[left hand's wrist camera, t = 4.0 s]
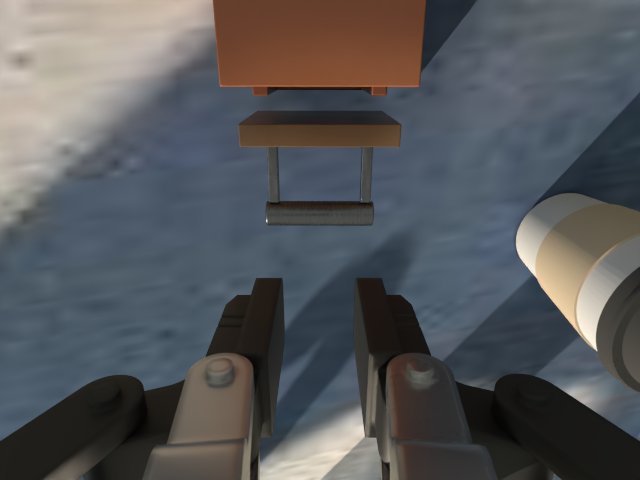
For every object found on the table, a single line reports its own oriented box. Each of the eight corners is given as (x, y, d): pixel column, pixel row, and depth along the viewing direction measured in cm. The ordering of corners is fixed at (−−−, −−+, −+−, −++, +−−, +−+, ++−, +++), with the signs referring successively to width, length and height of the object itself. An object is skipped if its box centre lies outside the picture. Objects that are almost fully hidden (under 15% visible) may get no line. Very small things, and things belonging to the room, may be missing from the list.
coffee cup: (634, 249, 34) (849, 374, 20) (529, 303, 36) (660, 451, 22) (595, 155, 31) (814, 223, 18) (483, 218, 33) (600, 326, 19)
